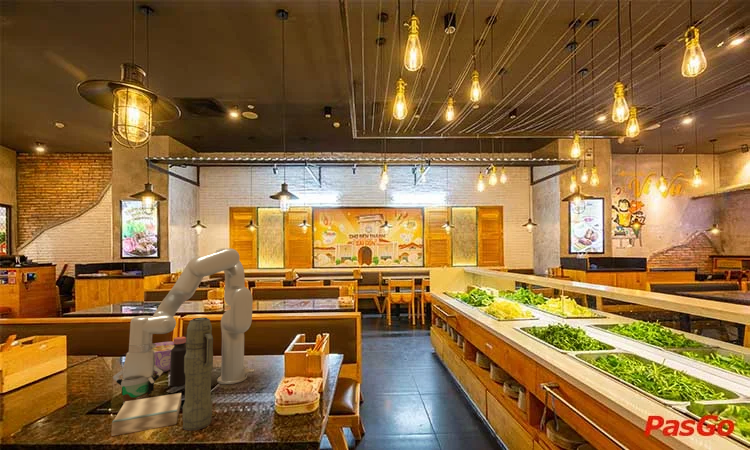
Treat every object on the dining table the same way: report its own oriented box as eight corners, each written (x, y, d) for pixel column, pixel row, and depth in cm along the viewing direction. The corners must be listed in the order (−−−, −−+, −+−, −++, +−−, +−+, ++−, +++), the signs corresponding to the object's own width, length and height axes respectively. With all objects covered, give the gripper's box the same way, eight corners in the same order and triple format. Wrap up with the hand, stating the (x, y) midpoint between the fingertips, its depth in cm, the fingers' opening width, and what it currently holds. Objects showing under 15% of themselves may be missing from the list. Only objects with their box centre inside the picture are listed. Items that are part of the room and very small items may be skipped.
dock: (181, 403, 136) (181, 392, 136) (176, 424, 119) (176, 410, 119) (125, 412, 128) (125, 400, 129) (111, 436, 112) (111, 421, 112)
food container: (134, 409, 131) (134, 381, 132) (119, 408, 132) (120, 380, 133) (159, 395, 143) (160, 370, 144) (146, 394, 144) (147, 369, 145)
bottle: (190, 381, 159) (191, 336, 161) (180, 387, 152) (182, 339, 154) (176, 381, 160) (177, 336, 161) (166, 386, 153) (167, 339, 155)
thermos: (200, 433, 113) (202, 322, 115) (173, 427, 117) (176, 320, 120) (221, 420, 121) (223, 317, 124) (195, 415, 125) (197, 315, 128)
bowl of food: (168, 377, 165) (169, 352, 166) (126, 377, 165) (127, 352, 166) (191, 363, 185) (192, 341, 186) (153, 364, 185) (154, 341, 186)
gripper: (167, 343, 146) (164, 388, 144) (116, 348, 139) (113, 394, 137) (164, 348, 139) (162, 394, 138) (110, 353, 132) (107, 402, 130)
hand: (137, 394), depth 137 cm, fingers closed on food container, 7 cm apart
